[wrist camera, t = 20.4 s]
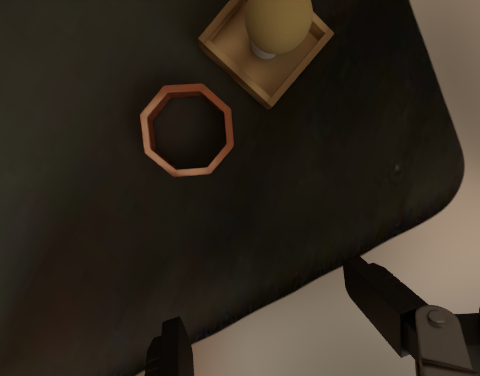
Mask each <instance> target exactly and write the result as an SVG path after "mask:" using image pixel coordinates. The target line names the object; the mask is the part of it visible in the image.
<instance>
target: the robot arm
mask: <svg viewBox="0 0 480 376" xmlns="http://www.w3.org/2000/svg"><path fill="white" fill-rule="evenodd" d="M343 271H344V279H345V287H346V290H347V292H348V294H349V296H350V298H351V299H352V300H353V302H354V303H355V304H356V305H357V306H358V308H359V309H360V310H361V311H362V312H363V313H364V315H365V316H366V317H367V318H368V319H369V320H370V322H371V323H372V324H373V325H374V326H375V328H376V329H377V330H378V331H379V332H380V334H382V336H383V337H384V338H385V339H386V341H388V343H389V344H390V345H391V347H392V348H393V349H394V350H395V351H396V352H397V354H398V355H399V356H400V357H401V358H402V357H404V356H407V355H409V354H410V355H411V356H412V357H413V358H414V359H415V368H416V376H480V308H479V313H471V314H453V313H452V312H450V311H449V310H447V309H445V308H442V307H439V306H434V305H428V304H427V303H426V302H425V301H423V300H422V299H421V298H420V297H419V296H418V295H416V294H415V293H414V292H413V291H412V290H411V289H409V288H408V287H407V286H406V285H405V284H403V283H402V282H400V280H399V279H397V278H396V277H395V276H393V274H391V273H390V272H389V271H388V270H387V269H386V268H384V267H382V266H379V265H377V264H375V263H371V264H368V263H367V262H366V261H365V260H363V259H362V258H361V257H360V256H356V257H353V258H350V259H347V260H344V261H343ZM193 367H194V366H193V352H192V347H191V343H190V340H189V337H188V335H187V332H186V330H185V327H184V325H183V322H182V320H181V318H180V317H176V318H173V319H170V320H167V321H164V322H163V324H162V336H159V337H156V338H153V340H152V342H151V344H150V346H149V348H148V350H147V359H146V367H145V376H194V368H193Z"/></svg>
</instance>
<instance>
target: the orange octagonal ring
mask: <svg viewBox="0 0 480 376" xmlns="http://www.w3.org/2000/svg"><path fill="white" fill-rule="evenodd" d="M193 96H201V97H203V98H204V99H205V100H206V101H207V102H208V103H209V104H210V105H212V106H213V107H214V108H215V109H216V110H217V111H218V112H220V113H221V114H222V115H223V120H224V132H225V144H226V145H225V146H224V147H223V148H222V149H221V151H220V152H219V153H218V154H217V155H216V157H215V158H214V159H213V160H212V161H211V162H210V164H209V165H208V166H203V167H191V168H178V167H176V166H175V165H174V164H173V163H172V162H170V161H169V160H168V159H167V158H165V157H164V156H163V155H162V154H161V153H159V152H158V151H157V150H156V145H155V137H154V128H153V119H154V118H155V117H156V116H157V114H158V113H159V112H160V111H161V110H162V108H163V107H164V106H165V105H166V104H167V102H168V101H169V100H170V99H171V98H176V97H193ZM140 121H141V129H142V138H143V146H144V153H145V154H146V155H147V156H149V157H150V158H151V159H152V160H154V161H155V162H156V163H157V164H158V165H160V166H161V167H162V168H163V169H165V170H166V171H167V172H168V173H170V174H171V175H172V176H173V177H180V176H192V175H204V174H211V173H212V172H213V170H214V169H215V168H216V167H217V166H218V164H219V163H220V162H221V161H222V160H223V159H224V157H225V156H226V155H227V154H228V153H229V151H230V150H231V149H232V148H233V146H234V142H233V129H232V116H231V109H230V108H229V107H228V106H227V105H226V104H225V103H224V102H223V101H221V100H220V99H219V98H218V97H217V96H216V95H215V94H214V93H212V92H211V91H210V90H209V89H208V88H207V87H206V86H205V85H204V84H202V83H201V84H182V85H165V86H163V87H162V89H161V90H160V91H159V92H158V93H157V95H156V96H155V97H154V98H153V99H152V101H151V102H150V103H149V104H148V105H147V107H146V108H145V109H144V110H143V111H142V113H141V114H140Z"/></svg>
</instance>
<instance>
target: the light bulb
mask: <svg viewBox="0 0 480 376" xmlns="http://www.w3.org/2000/svg"><path fill="white" fill-rule="evenodd" d="M312 17H313V10H312V4H311V0H248V3H247V6H246V10H245V26H246V29H247V33H248V35H249V37H250V46H251V49H252V51H253V53H254V54H255V55H256V56H257V57H259V58H261V59H271V58H273V57H275V56H276V55H278V54H284V53H287V52H289V51H291V50H293V49H295V48H296V47H297V46H298V45H299V44H300V43H301V42H302V41H303V40H304V38H305V37H306V35H307V33H308V31H309V29H310V26H311V23H312Z"/></svg>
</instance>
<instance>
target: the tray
mask: <svg viewBox="0 0 480 376" xmlns="http://www.w3.org/2000/svg"><path fill="white" fill-rule="evenodd" d="M247 3H248V0H230V1H229V2H228V3H227V4H226V5H225V7H224V8H223V9H222V10H221V12H220V13H219V14H218V15H217V16H216V18H215V19H214V20H213V21H212V22H211V24H210V25H209V26H208V27H207V28H206V30H205V31H204V32H203V33H202V34H201V36H200V37H199V38H198V42H199V48H200V49H201V50H202V51H203V52H204V53H205V54H206V55H207V56H208V57H209V58H211V59H212V60H213V61H214V62H215V63H216V64H217V65H218V66H219V67H220V68H221V69H223V70H224V71H225V72H226V73H227V74H228V75H229V76H230V77H231V78H232V79H233V80H234V81H236V82H237V83H238V84H239V85H240V86H241V87H242V88H243V89H244V90H245V91H246V92H248V93H249V94H250V95H251V96H252V97H253V98H254V99H255V100H256V101H257V102H258V103H259V104H261V105H262V106H263V107H264V108H265V109H266V110H269V109H270V108H271V107H272V106H273V105H274V104H275V103H276V102H277V101H278V99H279V98H280V97H281V96H282V95H283V93H284V92H285V91H286V90H287V89H288V88H289V86H290V85H291V84H292V83H293V82H294V81H295V79H296V78H297V77H298V76H299V75H300V73H301V72H302V71H303V70H304V69H305V68H306V66H307V65H308V64H309V63H310V62H311V60H312V59H313V58H314V57H315V56H316V55H317V53H318V52H319V51H320V50H321V49H322V47H323V46H324V45H325V44H326V43H327V42H328V40H329V39H330V38H331V37H332V36H333V34H334V32H333V31H332V30H331V29H329V27H328V26H327V25H326V24H325V23H324V22H323V21H322V20H321V19H320V18H319V17H318V16H317V15H316V14H315V13H314V12H313V17H312V23H311V26H310V29H309V31H308V33H307V35H306V37H305V38H304V40H303V41H302V42H301V43H300V44H299V45H298V46H297V47H296V48H295V49H293V50H291V51H289V52H287V53H284V54H278V55H276V56H275V57H273V58H271V59H261V58H259V57H257V56H256V55H255V54H254V53H253V51H252V49H251V46H250V37H249V35H248V33H247V29H246V26H245V10H246V6H247Z"/></svg>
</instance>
